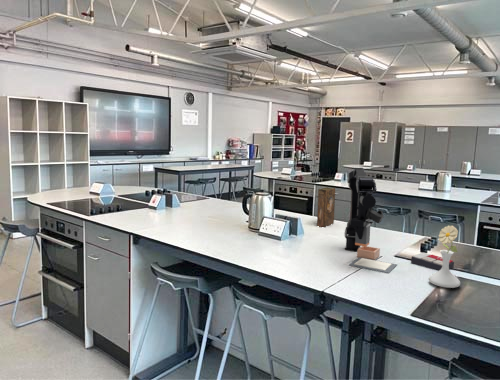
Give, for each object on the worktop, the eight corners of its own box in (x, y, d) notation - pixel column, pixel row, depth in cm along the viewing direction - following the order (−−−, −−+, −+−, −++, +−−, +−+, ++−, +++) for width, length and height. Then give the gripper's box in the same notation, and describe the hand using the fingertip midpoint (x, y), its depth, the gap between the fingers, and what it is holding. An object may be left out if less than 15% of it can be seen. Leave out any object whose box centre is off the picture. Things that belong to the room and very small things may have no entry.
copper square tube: (357, 257, 188) (357, 249, 187) (362, 253, 194) (363, 245, 194) (374, 260, 183) (374, 252, 182) (379, 256, 190) (379, 248, 189)
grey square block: (355, 244, 175) (356, 223, 174) (358, 242, 179) (359, 221, 178) (365, 246, 172) (367, 224, 171) (369, 244, 176) (370, 223, 175)
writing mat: (348, 265, 175) (348, 263, 175) (358, 257, 186) (359, 256, 186) (388, 273, 165) (388, 271, 165) (397, 265, 176) (397, 263, 176)
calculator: (443, 264, 167) (411, 255, 179) (442, 274, 168) (410, 263, 179) (454, 260, 174) (422, 251, 185) (453, 269, 175) (421, 259, 186)
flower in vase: (424, 279, 158) (428, 220, 155) (452, 280, 157) (457, 221, 154) (436, 291, 145) (441, 227, 142) (467, 293, 144) (473, 228, 141)
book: (323, 227, 251) (325, 190, 248) (316, 226, 254) (317, 189, 251) (333, 223, 264) (335, 188, 261) (326, 222, 267) (327, 187, 264)
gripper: (375, 209, 161) (373, 245, 163) (388, 203, 176) (385, 236, 178) (350, 206, 167) (348, 241, 169) (364, 201, 182) (362, 233, 184)
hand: (362, 238), depth 175 cm, fingers closed on grey square block, 5 cm apart
